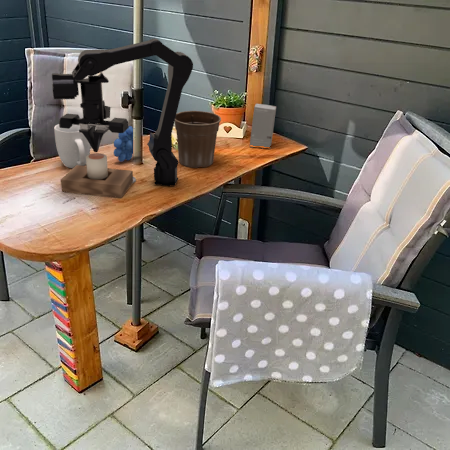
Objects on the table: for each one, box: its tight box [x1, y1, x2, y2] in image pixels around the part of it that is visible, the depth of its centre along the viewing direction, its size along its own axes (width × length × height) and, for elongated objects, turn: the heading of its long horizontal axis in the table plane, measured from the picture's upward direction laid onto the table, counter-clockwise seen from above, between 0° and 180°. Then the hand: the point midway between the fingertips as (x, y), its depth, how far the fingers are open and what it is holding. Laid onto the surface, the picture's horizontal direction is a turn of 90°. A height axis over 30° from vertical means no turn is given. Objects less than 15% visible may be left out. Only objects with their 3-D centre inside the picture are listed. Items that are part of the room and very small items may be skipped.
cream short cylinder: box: [85, 152, 108, 180], centre depth 146 cm, size 6×6×6 cm
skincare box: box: [249, 103, 277, 148], centre depth 189 cm, size 8×7×16 cm
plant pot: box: [174, 110, 222, 169], centre depth 169 cm, size 16×16×16 cm
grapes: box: [113, 125, 134, 163], centre depth 168 cm, size 12×7×12 cm, turn 140°
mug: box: [53, 123, 91, 169], centre depth 159 cm, size 15×11×13 cm
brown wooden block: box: [60, 165, 134, 199], centre depth 148 cm, size 18×12×4 cm, turn 83°
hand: (96, 151), depth 144 cm, fingers closed
